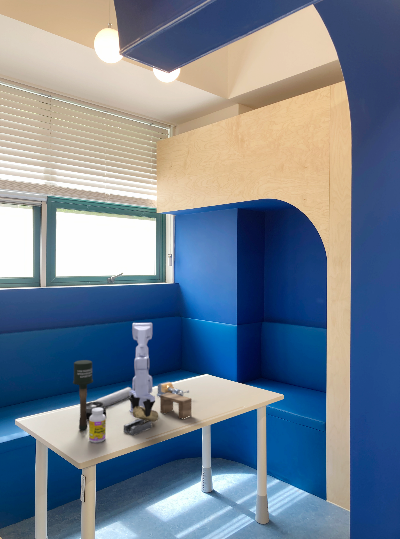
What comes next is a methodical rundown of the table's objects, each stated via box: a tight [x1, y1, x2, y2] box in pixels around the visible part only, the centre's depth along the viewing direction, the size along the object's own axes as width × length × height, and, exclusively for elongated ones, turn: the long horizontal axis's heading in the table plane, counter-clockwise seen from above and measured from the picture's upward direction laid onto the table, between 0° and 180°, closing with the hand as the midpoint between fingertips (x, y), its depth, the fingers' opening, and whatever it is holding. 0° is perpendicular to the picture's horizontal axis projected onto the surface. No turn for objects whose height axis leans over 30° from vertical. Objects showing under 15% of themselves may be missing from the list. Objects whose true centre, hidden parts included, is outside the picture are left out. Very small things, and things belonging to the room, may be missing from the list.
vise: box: [156, 381, 190, 397], centre depth 231 cm, size 18×10×7 cm, turn 42°
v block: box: [123, 418, 152, 436], centre depth 186 cm, size 6×11×3 cm, turn 141°
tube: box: [95, 386, 132, 408], centre depth 223 cm, size 5×5×25 cm
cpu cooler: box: [86, 401, 107, 421], centre depth 202 cm, size 10×6×10 cm
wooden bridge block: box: [159, 393, 192, 420], centre depth 205 cm, size 15×6×8 cm, turn 51°
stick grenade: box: [72, 359, 94, 432], centre depth 186 cm, size 8×9×30 cm
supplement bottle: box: [88, 408, 107, 444], centre depth 175 cm, size 7×7×13 cm
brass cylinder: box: [132, 406, 159, 423], centre depth 189 cm, size 5×12×5 cm, turn 142°
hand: (141, 414), depth 188 cm, fingers open, 7 cm apart
